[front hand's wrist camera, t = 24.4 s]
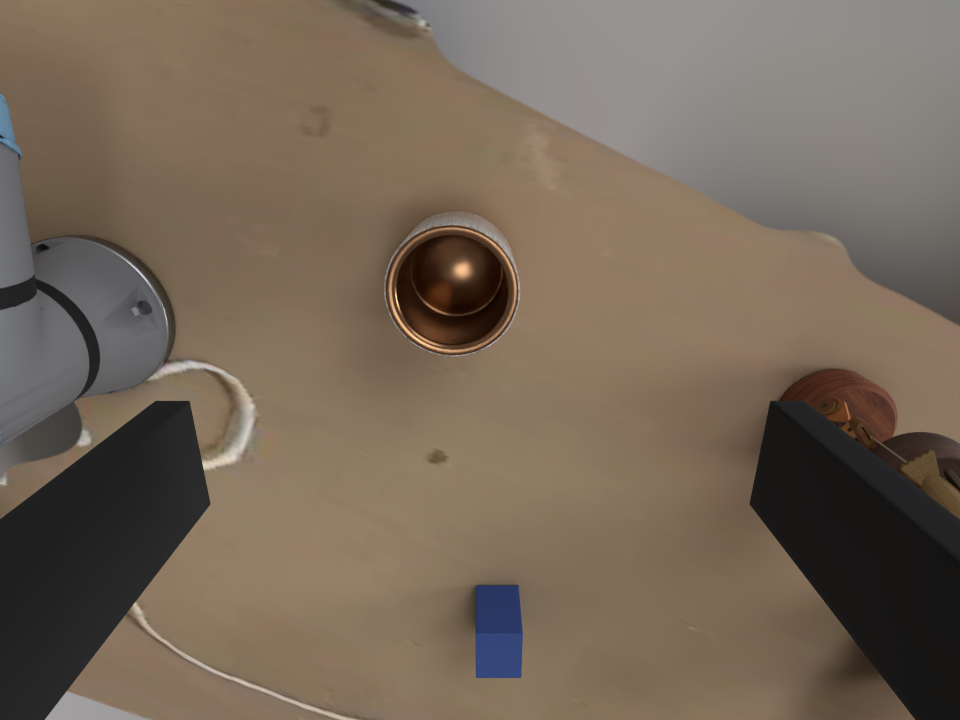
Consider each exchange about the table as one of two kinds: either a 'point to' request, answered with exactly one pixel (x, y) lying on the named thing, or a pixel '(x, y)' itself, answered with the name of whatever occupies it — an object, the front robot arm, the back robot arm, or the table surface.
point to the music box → (884, 431)
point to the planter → (452, 284)
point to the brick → (498, 631)
